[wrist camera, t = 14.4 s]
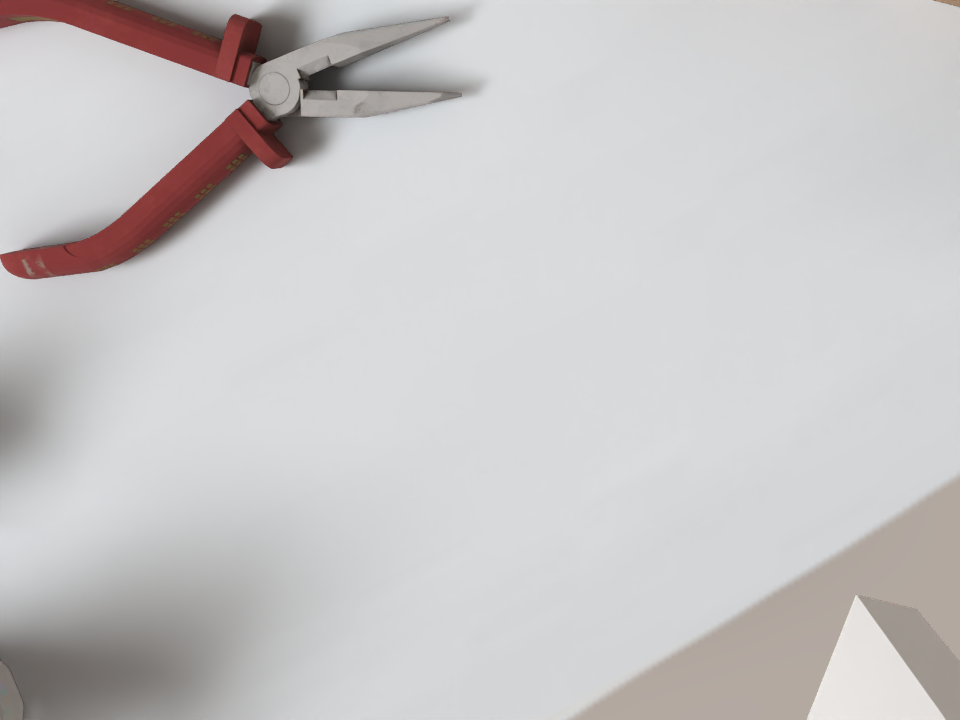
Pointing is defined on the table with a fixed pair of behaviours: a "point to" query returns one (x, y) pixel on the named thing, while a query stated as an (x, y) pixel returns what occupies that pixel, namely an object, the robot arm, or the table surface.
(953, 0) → the wooden planter box
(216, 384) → the table surface
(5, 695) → the french press
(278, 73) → the pliers
